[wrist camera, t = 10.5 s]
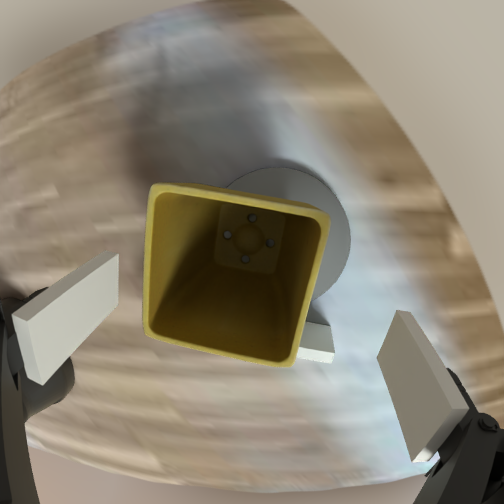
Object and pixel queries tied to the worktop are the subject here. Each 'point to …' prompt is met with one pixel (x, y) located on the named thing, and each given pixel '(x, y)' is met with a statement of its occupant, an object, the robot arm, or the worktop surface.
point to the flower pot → (230, 271)
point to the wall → (316, 343)
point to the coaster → (311, 192)
